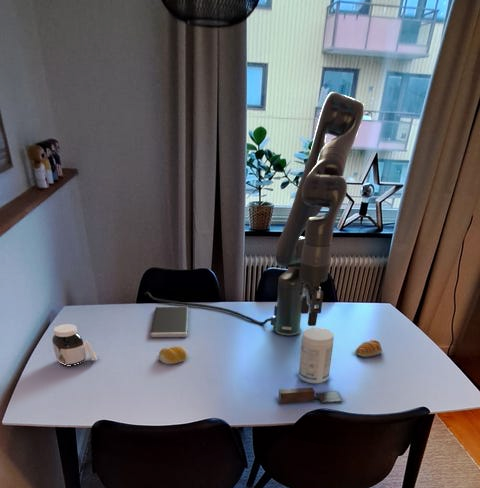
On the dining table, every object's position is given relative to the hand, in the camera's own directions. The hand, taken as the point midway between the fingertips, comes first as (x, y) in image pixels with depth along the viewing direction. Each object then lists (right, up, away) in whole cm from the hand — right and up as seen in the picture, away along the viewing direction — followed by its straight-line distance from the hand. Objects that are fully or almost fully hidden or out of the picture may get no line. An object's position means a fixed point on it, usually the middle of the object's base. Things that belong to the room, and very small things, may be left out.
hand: (307, 319), depth 135 cm
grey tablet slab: (-46, +10, +49) cm, 67 cm away
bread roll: (-42, -7, +24) cm, 49 cm away
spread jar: (-72, -9, +22) cm, 76 cm away
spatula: (+1, -22, +5) cm, 23 cm away
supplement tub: (+4, -15, +16) cm, 22 cm away
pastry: (+25, -4, +31) cm, 40 cm away
